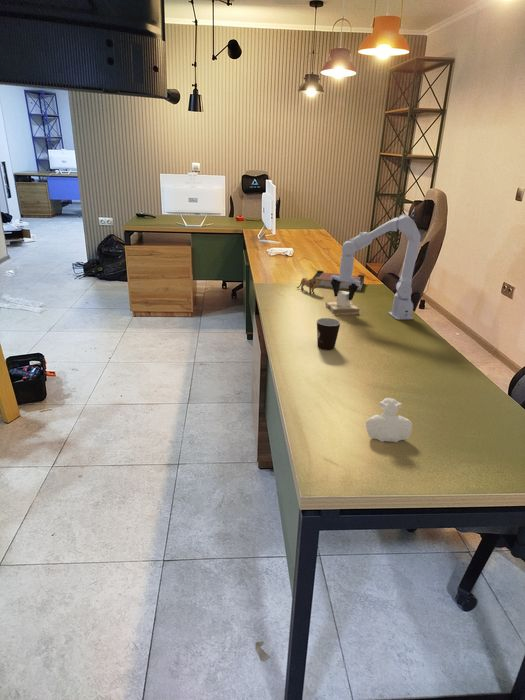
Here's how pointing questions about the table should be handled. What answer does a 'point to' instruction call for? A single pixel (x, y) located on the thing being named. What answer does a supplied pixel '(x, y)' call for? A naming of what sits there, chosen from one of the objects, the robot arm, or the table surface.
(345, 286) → the book
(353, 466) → the table surface
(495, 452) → the table surface
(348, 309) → the oak block
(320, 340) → the coffee mug
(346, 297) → the white block
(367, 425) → the bust
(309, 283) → the lion figurine
